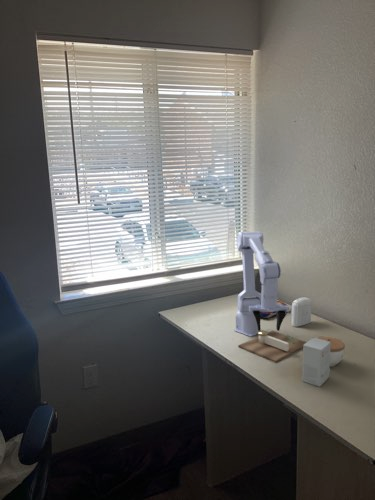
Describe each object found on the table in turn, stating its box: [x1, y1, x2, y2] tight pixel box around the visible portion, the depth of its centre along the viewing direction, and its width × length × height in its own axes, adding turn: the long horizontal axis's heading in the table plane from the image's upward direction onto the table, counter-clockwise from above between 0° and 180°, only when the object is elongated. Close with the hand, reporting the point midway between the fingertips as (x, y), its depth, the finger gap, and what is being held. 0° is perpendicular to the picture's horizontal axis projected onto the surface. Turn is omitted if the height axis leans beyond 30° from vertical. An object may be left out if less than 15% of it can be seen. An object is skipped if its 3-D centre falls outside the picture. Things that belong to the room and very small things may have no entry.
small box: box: [301, 337, 331, 388], centre depth 136 cm, size 8×6×13 cm
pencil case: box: [260, 300, 287, 319], centre depth 199 cm, size 11×20×5 cm, turn 119°
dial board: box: [237, 330, 308, 363], centre depth 163 cm, size 18×22×1 cm
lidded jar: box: [317, 336, 346, 367], centre depth 148 cm, size 11×11×9 cm
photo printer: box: [290, 296, 313, 328], centre depth 184 cm, size 10×4×12 cm, turn 123°
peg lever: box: [257, 329, 289, 351], centre depth 160 cm, size 14×4×4 cm, turn 41°
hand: (268, 329), depth 153 cm, fingers open, 6 cm apart
